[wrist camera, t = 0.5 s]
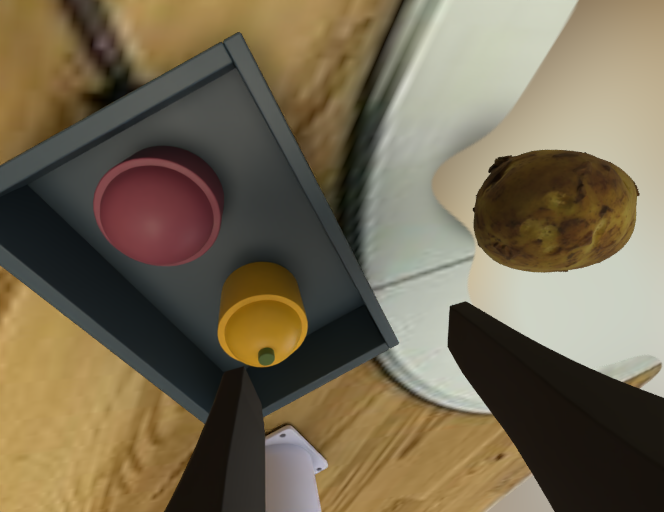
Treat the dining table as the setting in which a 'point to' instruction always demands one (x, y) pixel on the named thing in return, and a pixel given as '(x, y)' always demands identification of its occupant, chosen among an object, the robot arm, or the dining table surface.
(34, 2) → the dining table surface
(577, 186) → the potato
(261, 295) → the orange rounded piece
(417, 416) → the dining table surface
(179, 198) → the dark red hollow cup
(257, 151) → the tote
